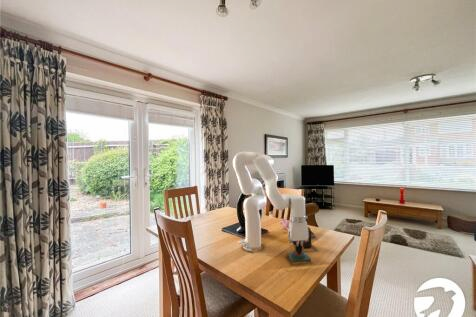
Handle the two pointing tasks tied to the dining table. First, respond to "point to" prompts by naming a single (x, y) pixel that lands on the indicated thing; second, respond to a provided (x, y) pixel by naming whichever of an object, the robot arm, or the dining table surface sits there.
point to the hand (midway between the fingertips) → (298, 252)
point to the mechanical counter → (312, 233)
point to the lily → (285, 223)
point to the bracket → (308, 243)
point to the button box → (298, 257)
